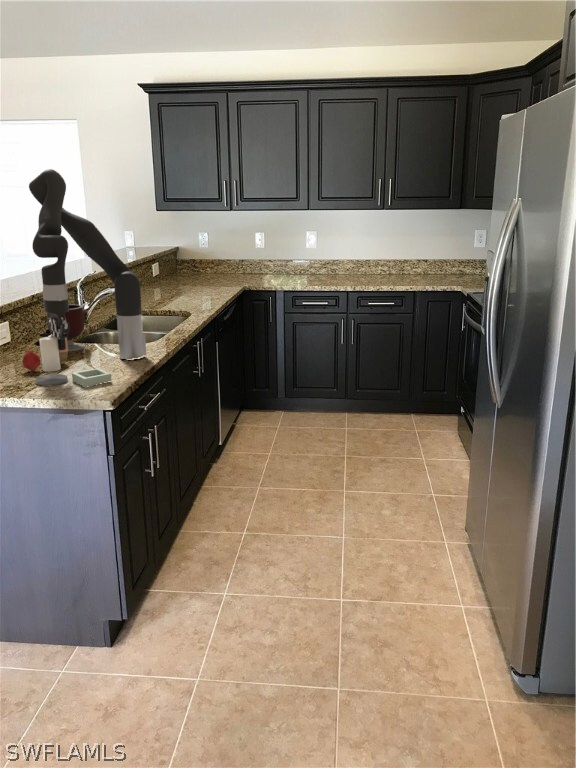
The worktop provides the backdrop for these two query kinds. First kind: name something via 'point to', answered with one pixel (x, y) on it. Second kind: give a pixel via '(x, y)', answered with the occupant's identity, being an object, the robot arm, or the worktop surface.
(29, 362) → the onion
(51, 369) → the jug
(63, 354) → the natural sponge
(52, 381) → the coaster
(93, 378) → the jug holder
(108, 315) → the worktop surface
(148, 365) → the worktop surface
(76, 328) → the mate gourd
